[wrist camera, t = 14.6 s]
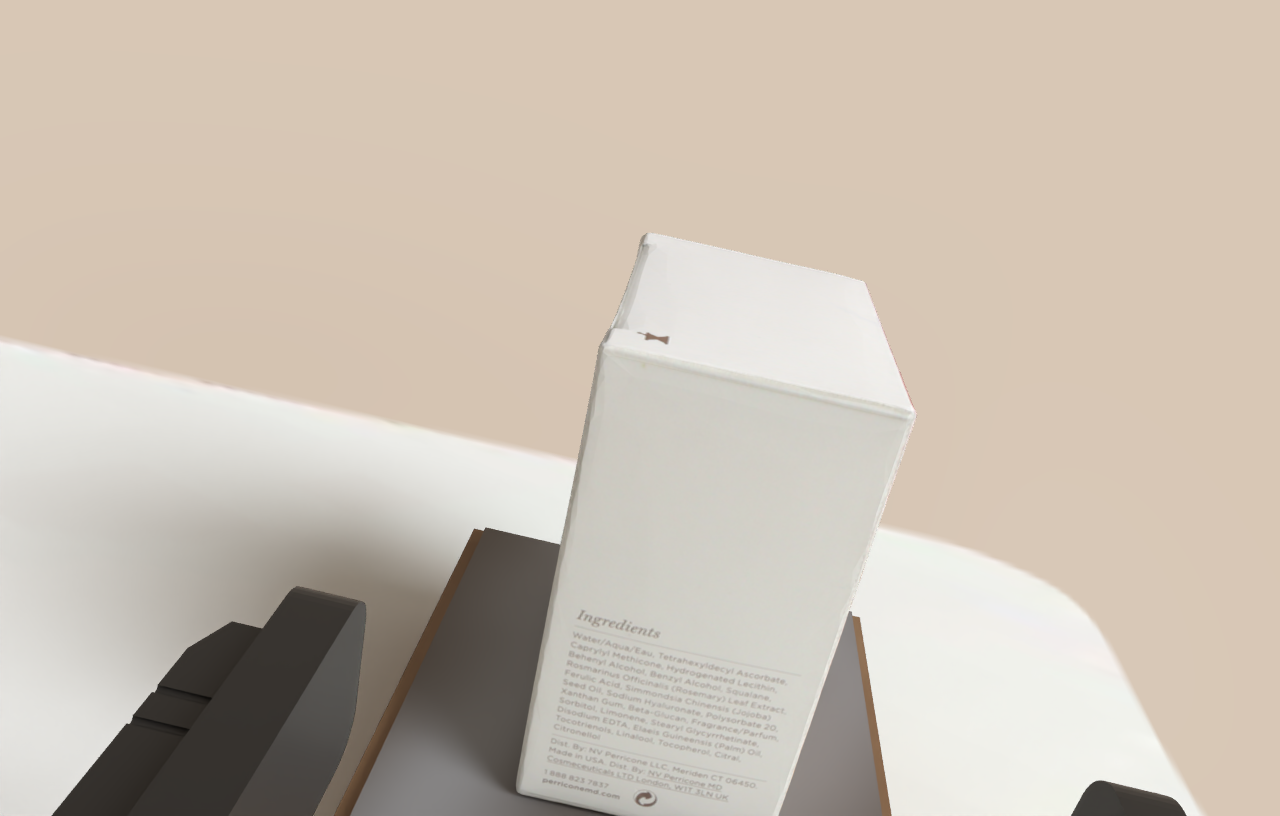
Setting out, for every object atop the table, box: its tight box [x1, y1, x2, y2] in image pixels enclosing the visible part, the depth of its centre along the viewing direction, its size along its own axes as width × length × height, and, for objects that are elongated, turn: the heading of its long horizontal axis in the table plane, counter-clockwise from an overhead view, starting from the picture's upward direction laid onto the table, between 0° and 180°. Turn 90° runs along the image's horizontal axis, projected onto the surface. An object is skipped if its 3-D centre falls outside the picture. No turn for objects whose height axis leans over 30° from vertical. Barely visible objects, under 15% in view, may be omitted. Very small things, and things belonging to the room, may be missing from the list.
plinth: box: [334, 528, 891, 816], centre depth 26 cm, size 12×12×4 cm
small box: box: [516, 233, 917, 816], centre depth 22 cm, size 8×6×10 cm
